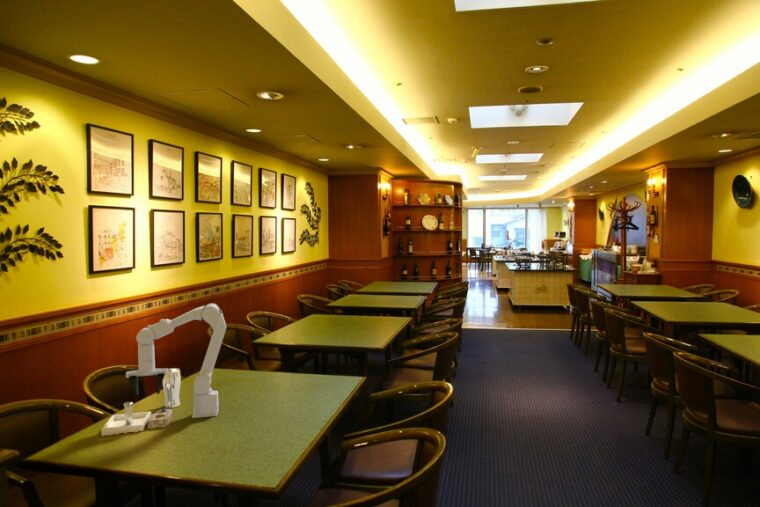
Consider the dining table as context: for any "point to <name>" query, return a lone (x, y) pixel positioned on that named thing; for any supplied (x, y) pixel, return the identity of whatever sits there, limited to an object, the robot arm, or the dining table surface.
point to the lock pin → (128, 413)
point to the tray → (118, 423)
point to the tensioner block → (160, 418)
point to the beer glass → (172, 387)
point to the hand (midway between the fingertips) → (147, 394)
